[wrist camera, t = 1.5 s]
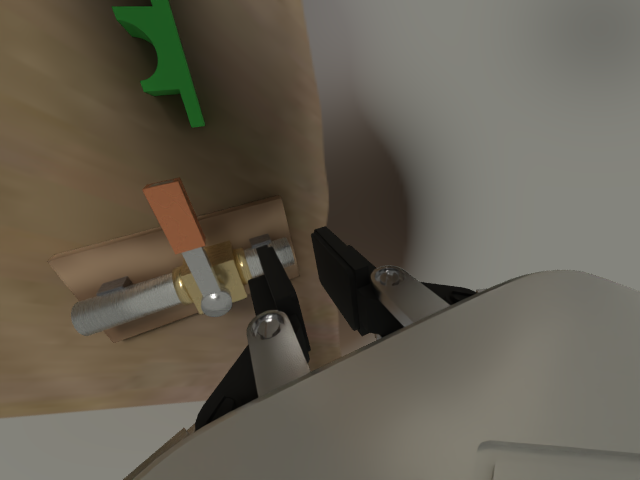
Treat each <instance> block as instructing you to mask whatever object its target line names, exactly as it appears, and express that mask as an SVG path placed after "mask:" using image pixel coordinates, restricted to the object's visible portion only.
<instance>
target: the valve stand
mask: <svg viewBox="0 0 640 480" xmlns="http://www.w3.org/2000/svg"><path fill="white" fill-rule="evenodd" d="M197 219H198V221H199V224H200V226H201V228H202V231H203V233H204V235H205V238H206V246H203V247H204V248H205V247H209V246H212V245H215V244H219V243H222V242H225V241H229V240H230V242H231V245H232V248H233V250H234V249H237V248H241V247H243V249H244V250H245V249H249V248H252V247H251V244H250V240H249V239H251V238H254V237H257V236H261V235H264V234H267V233H268V235H269V237H270V239H271V241H274V240H277V239H280V238H284V237H286V238H287V240H288V242H289V245H290V247H291V250H292V253H293V257H294V262H295V264H294V265H291V266H288V267H285V268H284V270H285V272H286V274H287V276H288V278H289V280H290V279H292V278H295V277H298V276H300V274H299V270H298V266H297V261H296V257H295V253H294V249H293V244H292V240H291V236H290V231H289V227H288V223H287V219H286V214H285V210H284V206H283V202H282V198H281V197H280V196H279V195H277V196H273V197H270V198H266V199H262V200H258V201H255V202H251V203H247V204H243V205H240V206H236V207H232V208H228V209H225V210H221V211H217V212H213V213H209V214H206V215H202V216H198V217H197ZM183 259H184V257H183V255H182V253H179V254H176V255H175V253H174V251H173V249H172V247H171V245H170V243H169V241H168V239H167V237H166V235H165V233H164V231H163V229H162V227H157V228H153V229H149V230H146V231H142V232H138V233H134V234H130V235H127V236H123V237H119V238H115V239H112V240H108V241H104V242H100V243H97V244H93V245H89V246H85V247H82V248H78V249H74V250H70V251H67V252H63V253H59V254H55V255H54V256H53V257H52V258H50V259H49V260H48V261H47V262H48V263H49V265H50V266H51V267H52V268H53V270H54V271H55V272H56V273H57V274H58V276H59V277H60V278H61V279H62V281H63V282H64V283H65V284H66V286H67V287H68V288H69V289H70V290H71V292H72V293H73V294H74V295H75V297H76V298H77V299H78V300H79V301H83V300H86V299H89V298H92V297H96V296H97V295H96V293H97V292H98V290H99V289H100V287H101V285H102V284H103V283H106V282H109V281H113V280H116V279H119V278H123V277H126V276H128V277H129V279H130V281H131V282H132V284H133V285H134V284H137V283H140V282H143V281H147V280H150V279H153V278H156V277H159V276H163V275H166V274H169V273H172V270H173V268H176V267H179V266H182V265H183ZM245 289H246V293H247V295H248V294H251V293H250V289H249V284H246V285H245ZM196 313H199V311H198V310H197V308H196V306H195V304H194V303H192V304H190V305H187V306H185V305H183V304H182V303H181V304H179V305H176V306H173V307H170V308H167V309H164V310H161V311H158V312H156V313H153V314H150V315H147V316H144V317H141V318H138V319H135V320H133V321H130V322H127V323H124V324H121V325H118V326H115V327H112V328H110V329H107V330H104V332H105V333H106V335H107V336H108V337H109V338H110V339H111V341H112V342H113V343H116V342H119V341H121V340H124V339H127V338H130V337H132V336H135V335H138V334H141V333H143V332H146V331H149V330H152V329H155V328H157V327H160V326H163V325H166V324H168V323H171V322H174V321H177V320H179V319H182V318H185V317H188V316H190V315H193V314H196Z"/></svg>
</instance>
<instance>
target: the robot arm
mask: <svg viewBox="0 0 640 480" xmlns="http://www.w3.org/2000/svg"><path fill="white" fill-rule="evenodd" d="M311 238H312V243H313V248H314V253H315V259H316V264H317V269H318V275H319V279H320V282H321V284H322V286H323V287H324V289H325V290H326V292H327V293H328V294H329V296H330V297H331V299H332V300H333V302H334V303H335V305H336V306H337V308H338V309H339V310H340V312H341V313H342V315H343V316H344V318H345V319H346V321H347V322H348V324H349V325H350V326H351V328H352V329H353V330H354V331H355V330H358V332H359V333H360V334H361V336H364V335H366V334H368V333H374V334H375V338H376V339H377V340H376V341H374V342H372V343H370V344H368V345H366V346H364V347H362V348H360V349H358V350H355V351H354V352H351V353H349V354H347V355H345V356H343V357H341V358H339V359H337V360H335V361H333V362H330V363H328V364H326V365H324V366H322V367H320V368H318V369H316V370H314V371H312V372H310V369H309V367H308V362H309V360H310V358H309V354H308V351H311V349H310V345H309V341H308V337H307V333H306V329H305V325H304V321H303V317H302V313H301V309H300V305H299V301H298V298H297V295H296V292H295V290H294V287H293V285H292V283H291V282H290V280H289V278H288V276H287V274H286V272H285V270H284V268H283V266H282V264H281V262H280V260H279V258H278V256H277V254H276V252H275V250H274V248H273V246H271V247H268V245H264V246H261V247H258V248H256V251H257V254H258V257H259V261H260V264H261V267H262V270H263V273H264V275H261V276H258V277H255V278H253V279H250V280H248V284H249V289H250V293H251V297H252V301H253V305H254V309H255V313H256V317H255V318H254V319H253V320H252V321H251V322H250V323H249V325H248V328H247V338H248V346H247V347H246V348H245V350H244V351H243V353H242V354H241V355H240V357H239V358H238V359H237V361H236V362H235V363H234V365H233V366H232V367H231V369H230V370H229V371H228V373H227V374H226V376H225V377H224V378H223V380H222V381H221V382H220V384H219V385H218V386H217V388H216V389H215V390H214V392H213V393H212V394H211V396H210V397H209V398H208V400H207V401H206V403H205V404H204V405H203V407H202V409H201V410H200V412H199V414H198V417H197V419H196V422H195V424H194V425H192V426H191V427H190V428H189V429H188V430H187V431H186V429H185V428H183V429H182V430H181V431H179V432H178V433H177V434H176V435H175V436H173V437H172V438H171V439H170V440H169V441H168V442H166V443H165V444H164V445H163V446H162V447H161V448H159V449H158V450H157V451H156V452H155V453H154V454H152V455H151V456H150V457H149V458H148V459H147V460H145V461H144V462H143V463H142V464H141V465H139V466H138V467H137V468H136V469H135V470H134V471H133V472H131V473H130V474H129V475H128V476H126V478H124V479H123V480H640V291H637V290H635V289H632V288H630V287H627V286H624V285H621V284H618V283H616V282H613V281H611V280H608V279H605V278H602V277H599V276H596V275H592V274H589V273H586V272H581V271H575V270H553V271H542V272H536V273H531V274H526V275H523V276H520V277H516V278H513V279H510V280H508V281H505V282H503V283H500V284H498V285H495V286H493V287H490V288H488V289H479V290H476V292H474V291H472V290H470V289H466V288H462V287H454V286H447V285H439V284H431V283H424V282H419V281H418V280H417V279H415V278H414V277H413V276H411V275H410V274H409V273H408V272H406V271H405V270H403V269H402V268H399V267H396V266H382V267H379V268H376V267H375V266H373V265H372V264H371V263H370V262H369V261H368V260H367V259H366V258H364V257H363V256H362V255H361V254H360V253H359V252H358V251H357V250H355V249H354V248H353V247H352V246H350V245H348V246H347V245H346V244H344V243H343V242H342V241H341V240H340V239H339V238H338V237H337V236H336V235H334V233H332V232H331V231H330V230H329V229H328V228H327V227H326V226H325V227H321V228H318V229H315V230H314V233H312V234H311Z"/></svg>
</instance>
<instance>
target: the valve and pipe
mask: <svg viewBox="0 0 640 480" xmlns="http://www.w3.org/2000/svg"><path fill="white" fill-rule="evenodd" d="M249 240H250V244H251V247H252V248H249V249H245V250H244V249H243V247H241V248H237V249H234V250H233V248H232V245H231V242H230V240H229V241H225V242H222V243H219V244H215V245H212V246H209V247H205V248H204V249H205V251H206V253H207V256H208V258H209V260H210V263H211V265H212V267H213V270H214V272H215V274H216V276H217V279H218V281H219V282H220V283H222V284H224V285H225V288H227V289H228V290H229V291H230V292H231V297H232V303H233V302H236V301H239V300H241V299H244V298H247V293H246V289H245V285H246V284H248V280H250V279H253V278H255V277H258V276H261V275H264V273H263V270H262V267H261V264H260V261H259V257H258V254H257V251H256V248H258V247H261V246H264V245H268V247H271V246H273V248H274V250H275V252H276V254H277V256H278V258H279V260H280V262H281V264H282V266H283V268H285V267H288V266H291V265H294V264H295V262H294V257H293V253H292V250H291V247H290V245H289V242H288V240H287V238H286V237H284V238H280V239H277V240H274V241H271V239H270V237H269V235H268V233H267V234H264V235H261V236H257V237H254V238H251V239H249ZM96 295H97V296H96V297H92V298H89V299H86V300H83V301H80V302H77V303H76V304H75V305H74V306H73V308H72V312H71V318H72V323H73V325H74V327H75V329H76V330H77V331H78V332H79V333H80V334H82V335H84V336H89V335H92V334H95V333H98V332H101V331H104V330H107V329H110V328H112V327H115V326H118V325H121V324H124V323H127V322H130V321H133V320H135V319H138V318H141V317H144V316H147V315H150V314H153V313H156V312H158V311H161V310H164V309H167V308H170V307H173V306H176V305H179V304H181V303H182V304H183V305H185V306H187V305H190V304H192V303H194V304H195V306H196V308H197V310H198V311H199V313H200V314H203V311H202V309H201V297H202V293H201V291H200V289H199V287H198V285H197V283H196V281H195V279H194V277H193V275H192V273H191V271H190V269H189V267H188V265H187V263H186V261H185V259H183V265H182V266H179V267H176V268H173V270H172V273H169V274H166V275H163V276H159V277H156V278H153V279H150V280H147V281H143V282H140V283H137V284H134V285H133V284H132V282H131V281H130V279H129V277H128V276H126V277H123V278H119V279H116V280H113V281H109V282H106V283H103V284H102V285H101V287H100V289H99V290H98V292H97V293H96Z"/></svg>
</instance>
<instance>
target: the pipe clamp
mask: <svg viewBox="0 0 640 480" xmlns="http://www.w3.org/2000/svg"><path fill="white" fill-rule="evenodd" d="M151 3H152V6H123V7H112V9H113V12H114V14H115V17H116V19H117V21H118V22H119V23H120V24H121V25H122V26H123V27H124V28H125V30H126V31H127V32H128V33H129V34H130V35H131V36H132V37H138V38H142V39H144V40H146V41H148V42H150V43H151V44H152V45H154V47H155V49H156V52H157V56H158V65H157V69H156V71H155V73H154V74H153V75H152V76H151V77H150V78H148V79H146V80H143V81H140V83H141V85H142V88H143V91H144V92H146V93H148V94H150V95H153V96H161V95H172V94H181V97H182V100H183V103H184V106H185V109H186V112H187V115H188V118H189V121H190V125H191V128H192V127H200V126H205V122H204V119H203V115H202V112H201V108H200V105H199V102H198V98H197V95H196V91H195V88H194V85H193V81H192V78H191V75H190V71H189V68H188V64H187V61H186V58H185V54H184V51H183V47H182V44H181V41H180V37H179V34H178V31H177V27H176V24H175V20H174V17H173V14H172V10H171V7H170V3H169V0H151Z"/></svg>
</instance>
